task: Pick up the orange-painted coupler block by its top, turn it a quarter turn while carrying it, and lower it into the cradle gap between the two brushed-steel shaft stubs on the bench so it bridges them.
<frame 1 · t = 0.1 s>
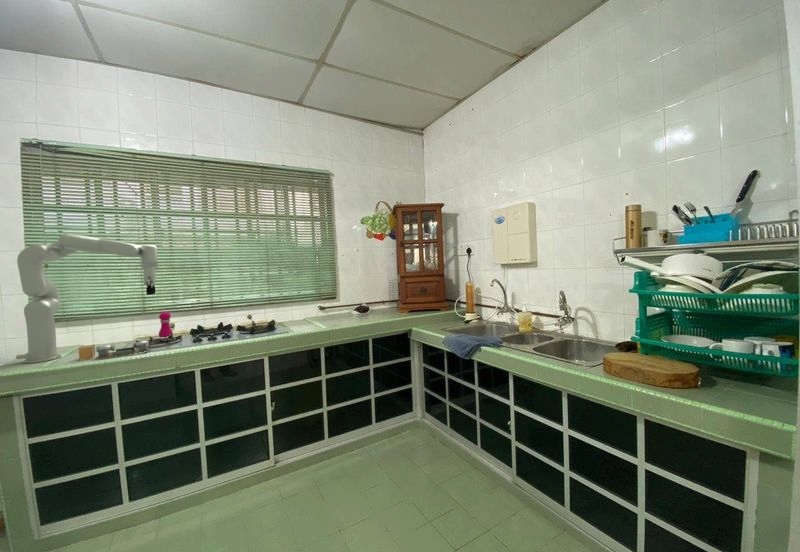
hand: (151, 294, 182), 31 cm above the table, fingers open, 9 cm apart
shaft bench: (124, 354, 164), on the table
coupler: (87, 358, 158), on the table
pepper mill: (166, 341, 196), on the table
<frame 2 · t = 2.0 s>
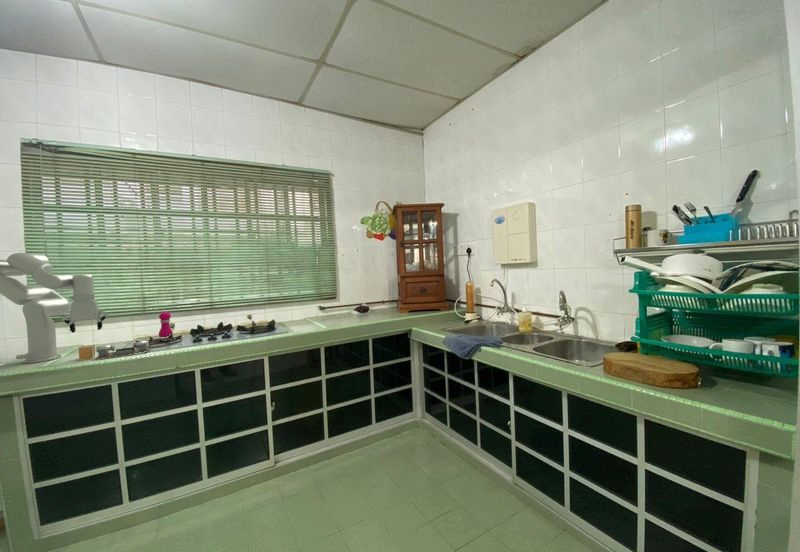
hand: (86, 330, 158), 14 cm above the table, fingers open, 9 cm apart
nothing on the table moved.
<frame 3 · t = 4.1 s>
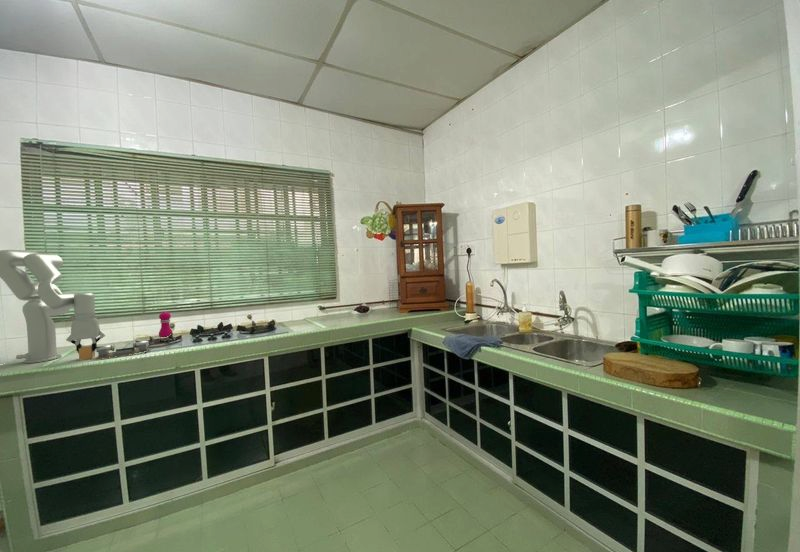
hand: (86, 351, 158), 4 cm above the table, fingers closed on coupler, 4 cm apart
coupler: (87, 358, 158), on the table, touching gripper
everything else where it was.
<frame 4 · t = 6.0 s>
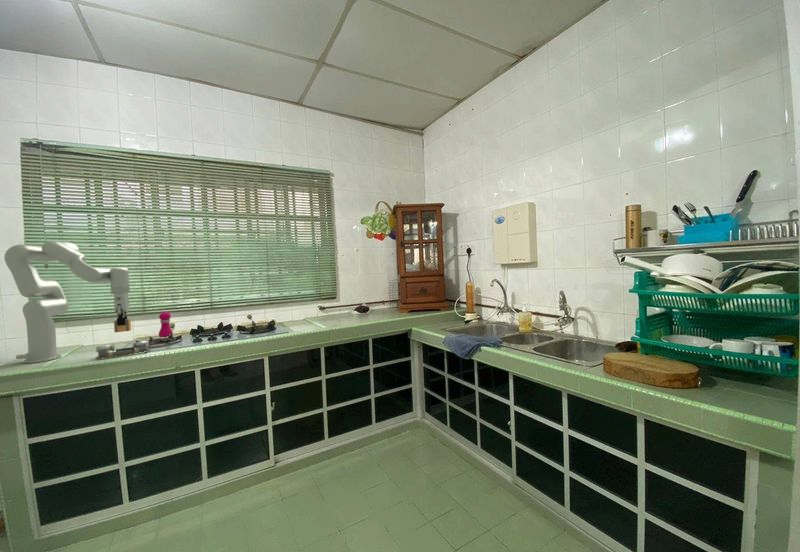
hand: (122, 324, 163), 16 cm above the table, fingers closed on coupler, 4 cm apart
coupler: (123, 331, 164), point 13 cm above the table, touching gripper
everything else where it was.
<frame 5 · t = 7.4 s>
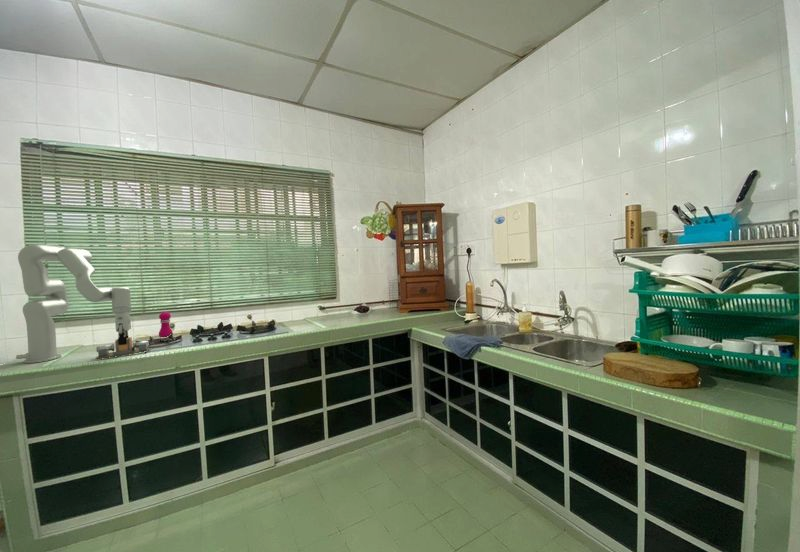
hand: (123, 343, 164), 6 cm above the table, fingers closed on coupler, 4 cm apart
coupler: (124, 350, 164), point 2 cm above the table, touching gripper
everything else where it was.
when the fingers open (6 cm above the table, at t = 8.2 s): coupler stays where it is, resting on shaft bench.
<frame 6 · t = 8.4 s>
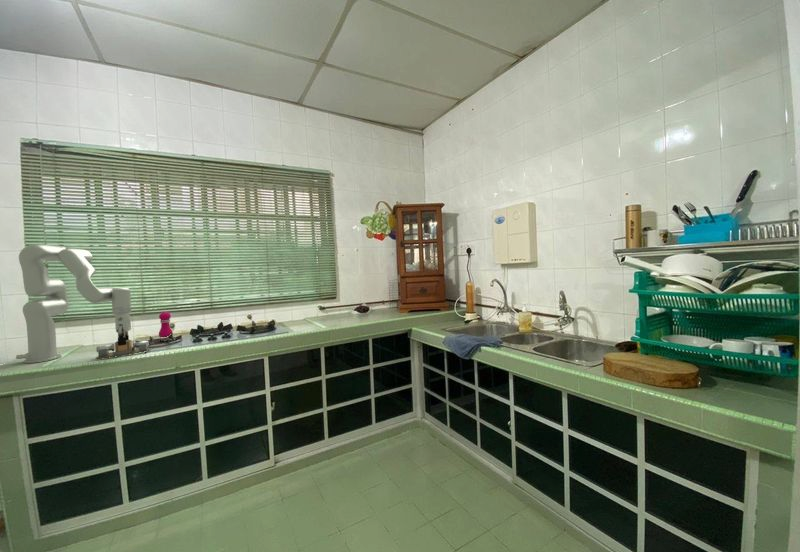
hand: (123, 343, 164), 6 cm above the table, fingers open, 6 cm apart
coupler: (123, 352, 164), point 1 cm above the table, touching shaft bench
everything else where it was.
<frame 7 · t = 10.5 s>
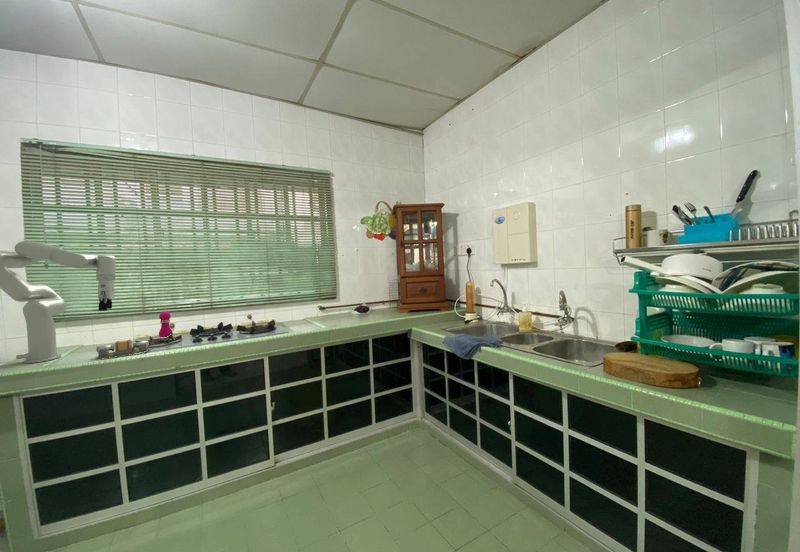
hand: (105, 309, 165), 24 cm above the table, fingers open, 9 cm apart
nothing on the table moved.
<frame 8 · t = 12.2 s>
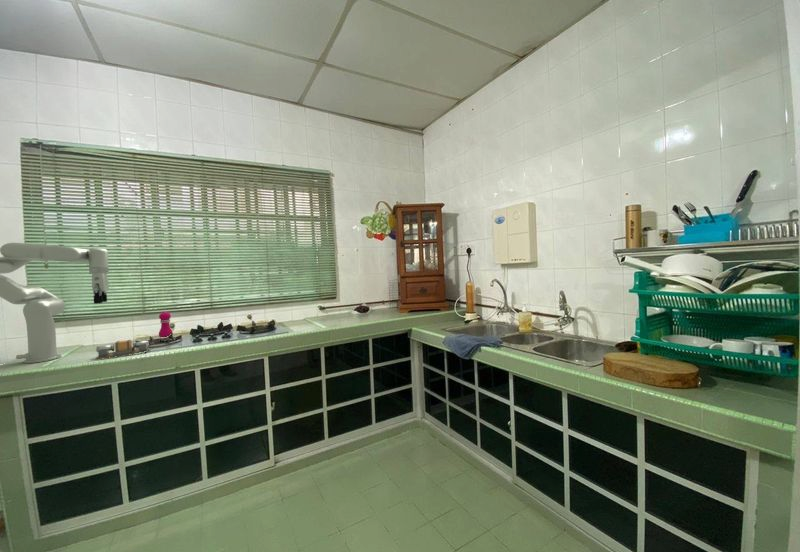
hand: (100, 302, 166), 28 cm above the table, fingers open, 9 cm apart
nothing on the table moved.
at the end: coupler 0.1 cm off-centre on the shaft bench, point 1.2 cm above the shaft bench's base; coupler tilted 0°; the gripper is holding nothing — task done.
